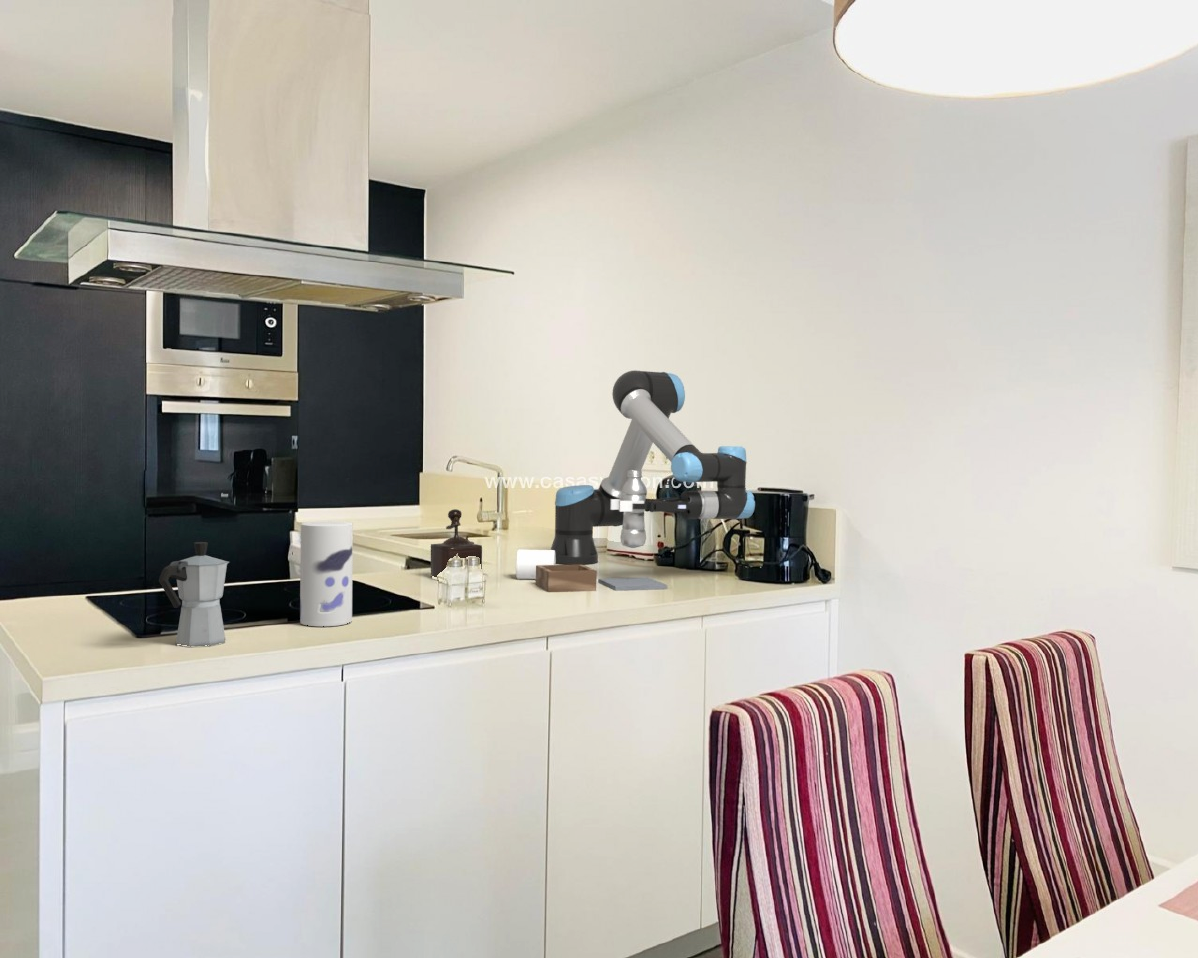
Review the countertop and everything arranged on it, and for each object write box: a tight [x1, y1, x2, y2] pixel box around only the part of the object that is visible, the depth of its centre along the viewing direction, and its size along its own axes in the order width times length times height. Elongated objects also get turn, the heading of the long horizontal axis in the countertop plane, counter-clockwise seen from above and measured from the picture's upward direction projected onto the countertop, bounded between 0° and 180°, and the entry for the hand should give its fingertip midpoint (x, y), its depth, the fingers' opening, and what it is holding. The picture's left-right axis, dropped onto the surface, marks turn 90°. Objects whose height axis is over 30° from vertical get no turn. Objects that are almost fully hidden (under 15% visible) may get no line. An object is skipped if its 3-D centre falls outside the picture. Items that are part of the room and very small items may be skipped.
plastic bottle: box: [620, 470, 648, 549], centre depth 251 cm, size 6×7×20 cm
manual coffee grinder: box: [430, 508, 483, 577], centre depth 259 cm, size 16×11×18 cm
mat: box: [597, 576, 668, 591], centre depth 251 cm, size 14×14×1 cm
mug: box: [515, 548, 556, 581], centre depth 262 cm, size 12×10×8 cm
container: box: [299, 520, 354, 627], centre depth 194 cm, size 10×10×20 cm
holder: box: [535, 564, 598, 593], centre depth 246 cm, size 12×12×5 cm
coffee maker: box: [158, 541, 230, 647], centre depth 172 cm, size 15×9×18 cm, turn 154°
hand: (615, 505), depth 249 cm, fingers closed on plastic bottle, 6 cm apart
